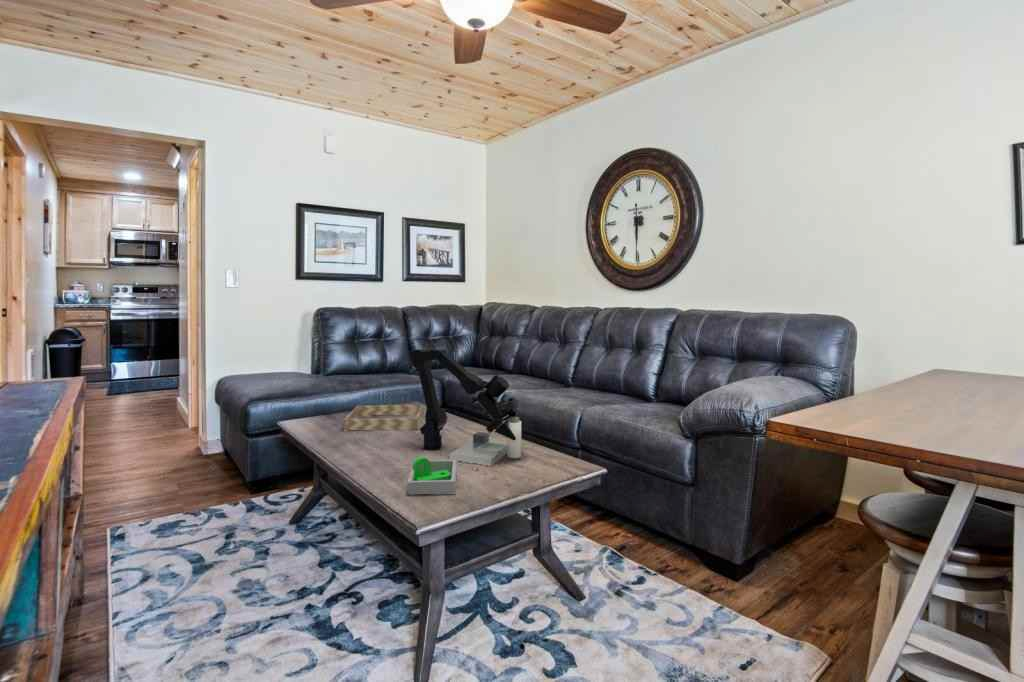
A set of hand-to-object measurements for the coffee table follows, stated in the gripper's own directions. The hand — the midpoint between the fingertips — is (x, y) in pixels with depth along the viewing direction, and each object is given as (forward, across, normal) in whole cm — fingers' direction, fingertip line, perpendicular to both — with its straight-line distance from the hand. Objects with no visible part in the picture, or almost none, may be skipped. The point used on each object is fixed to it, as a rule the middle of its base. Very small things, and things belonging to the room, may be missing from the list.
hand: (517, 437), depth 195 cm
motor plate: (-4, 0, +16) cm, 16 cm away
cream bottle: (+4, 0, +6) cm, 7 cm away
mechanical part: (-6, -31, +19) cm, 36 cm away
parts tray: (-6, -32, +17) cm, 37 cm away
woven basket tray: (-48, +26, +60) cm, 81 cm away
